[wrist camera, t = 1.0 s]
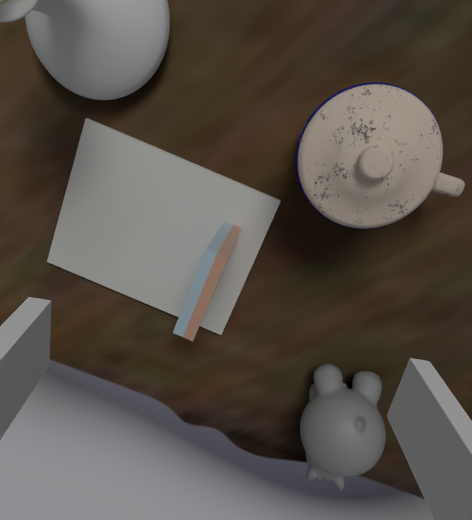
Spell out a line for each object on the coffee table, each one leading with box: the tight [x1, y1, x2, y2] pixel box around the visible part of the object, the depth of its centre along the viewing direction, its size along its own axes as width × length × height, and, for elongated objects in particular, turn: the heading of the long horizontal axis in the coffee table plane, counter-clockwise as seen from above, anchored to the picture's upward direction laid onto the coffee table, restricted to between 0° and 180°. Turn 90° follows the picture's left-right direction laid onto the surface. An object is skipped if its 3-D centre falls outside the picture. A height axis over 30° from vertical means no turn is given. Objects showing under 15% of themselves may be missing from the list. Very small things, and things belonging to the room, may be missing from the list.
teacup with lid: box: [296, 83, 465, 229], centre depth 30 cm, size 12×9×12 cm
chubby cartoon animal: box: [300, 364, 386, 491], centre depth 40 cm, size 7×12×8 cm, turn 168°
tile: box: [173, 221, 241, 341], centre depth 35 cm, size 2×7×9 cm, turn 158°
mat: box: [47, 118, 281, 335], centre depth 39 cm, size 18×14×1 cm
